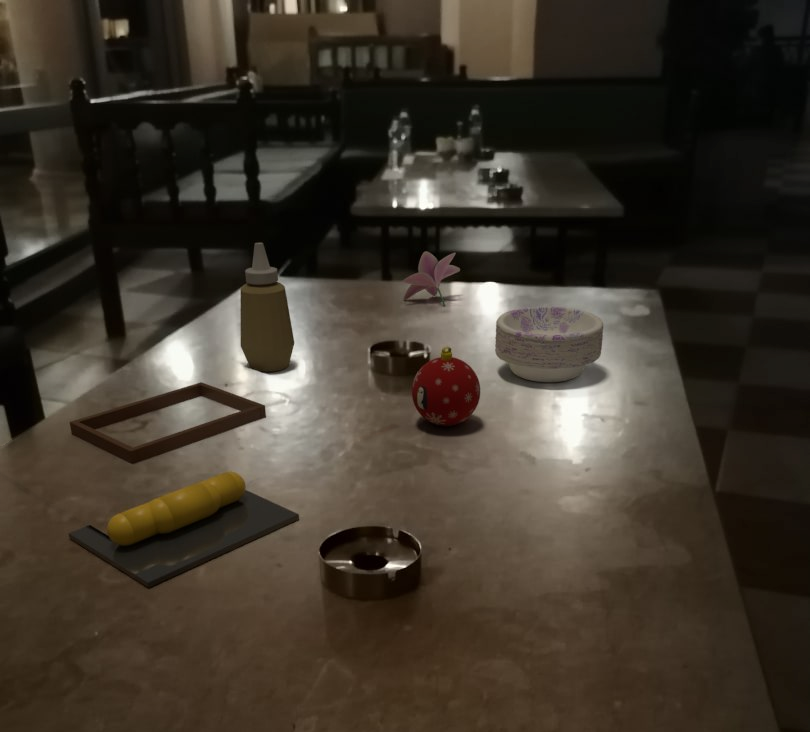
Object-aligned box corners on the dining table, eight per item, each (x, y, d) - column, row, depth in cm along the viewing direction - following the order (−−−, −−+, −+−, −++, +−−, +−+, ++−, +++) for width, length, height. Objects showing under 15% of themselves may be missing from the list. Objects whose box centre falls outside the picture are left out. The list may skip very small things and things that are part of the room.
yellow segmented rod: (128, 554, 84) (116, 518, 83) (108, 551, 87) (96, 516, 86) (260, 498, 94) (251, 465, 93) (238, 498, 97) (229, 465, 96)
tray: (133, 471, 104) (130, 451, 103) (72, 440, 112) (69, 421, 111) (266, 423, 116) (265, 405, 115) (203, 399, 124) (201, 382, 123)
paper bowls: (518, 395, 125) (521, 338, 121) (479, 362, 137) (480, 310, 133) (618, 383, 128) (624, 328, 124) (570, 353, 141) (575, 302, 137)
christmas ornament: (493, 425, 115) (496, 348, 110) (440, 441, 110) (441, 362, 106) (449, 406, 121) (451, 333, 116) (398, 421, 116) (397, 345, 112)
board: (148, 588, 81) (147, 582, 81) (69, 538, 90) (68, 533, 90) (299, 519, 93) (299, 514, 93) (216, 480, 101) (216, 475, 101)
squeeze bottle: (299, 358, 140) (291, 237, 131) (292, 375, 133) (283, 249, 124) (247, 358, 140) (236, 238, 132) (237, 375, 133) (224, 249, 125)
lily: (470, 301, 173) (452, 253, 172) (475, 291, 162) (456, 239, 161) (411, 323, 174) (393, 275, 173) (412, 315, 162) (393, 263, 161)
